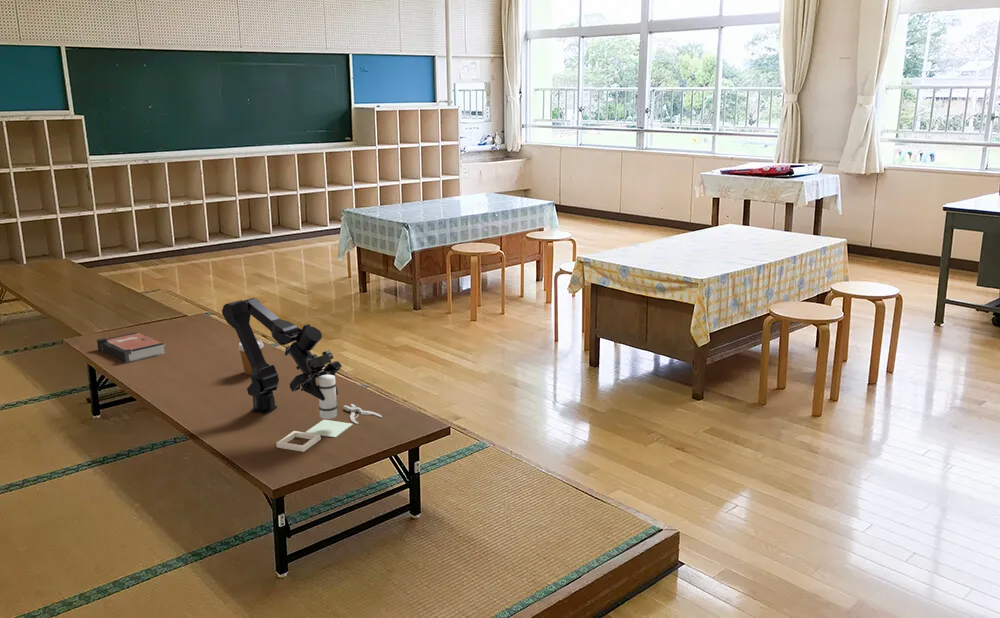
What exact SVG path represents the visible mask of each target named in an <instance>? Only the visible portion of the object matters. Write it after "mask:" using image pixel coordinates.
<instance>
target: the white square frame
mask: <svg viewBox="0 0 1000 618" xmlns="http://www.w3.org/2000/svg"><path fill="white" fill-rule="evenodd" d="M305 432H306V431H305ZM305 432H303V431H297V430H293V431H292V432H290V433H288V435H286V436H284V437H283V438H282V439H280V440H278V441H276V448H280V449H285V450H291V451H297V452H303V453H304V452H306V451H307V450H308V449H310V448H311V447H312V446H314V445H315V444H317V443H318V442H320V441H321V439H322V437H321V435H317V434H311V433H305ZM294 438H301V439H307V440H308V441H307V442H305V443H304V444H303V445H302V444H297V443H296V444H295V443H290V441H292V440H293V439H294Z"/></svg>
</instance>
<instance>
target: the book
mask: <svg viewBox="0 0 1000 618" xmlns="http://www.w3.org/2000/svg"><path fill="white" fill-rule="evenodd" d="M96 343H97V350H98V351H100V352H103V353H105V354H108V355H110V356H112V357H114V358H117V359H118V360H120V361H121V362H122V363H124V364H128V363H132V362H137V361H141V360H145V359H150V358H154V357H157V356H163V355H166V354H167V352H165V346H166V344H165V343H162V342H161V341H158V340H156V339H153V337H152V336H146V335H143V334H141V333H139V332H131V333H127V334H123V335H117V336H113V337H109V338H99V339H97V340H96Z"/></svg>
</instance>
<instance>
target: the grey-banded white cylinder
mask: <svg viewBox="0 0 1000 618" xmlns="http://www.w3.org/2000/svg"><path fill="white" fill-rule="evenodd" d="M317 386H318V388H319V389H320V391H321V392H322V394H323V396H324V397H325V400H324V401H322V400H320V399H319V398H318V402H319V405H318V409H319V417H320V418H321V419H323V420H330V419H333V418H336V417H337V416H338V403H337V395H336V388H337V382H336V375H335V376H334V375H322V376H319V377H318V378H317Z"/></svg>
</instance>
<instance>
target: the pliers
mask: <svg viewBox="0 0 1000 618" xmlns="http://www.w3.org/2000/svg"><path fill="white" fill-rule="evenodd" d="M343 410H345V411H347V412H350V415H349V419H350V421H351V422H352V424H355V425H359V424H360V423H359V422H358V421H357V420H356V419H357V418H358V417H359V414H360V415H361V416H376V417H377V418H378V417H379V418H381V419H382V418H383V416H382V415H381V414H379V413H377V412H374V411H371V410H363V409H362V408H361V407H358V406H357V405H355V404H354V403H350V406H348V405H346V404H345V405H343ZM356 413H359V414H356ZM356 415H357V416H356Z"/></svg>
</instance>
